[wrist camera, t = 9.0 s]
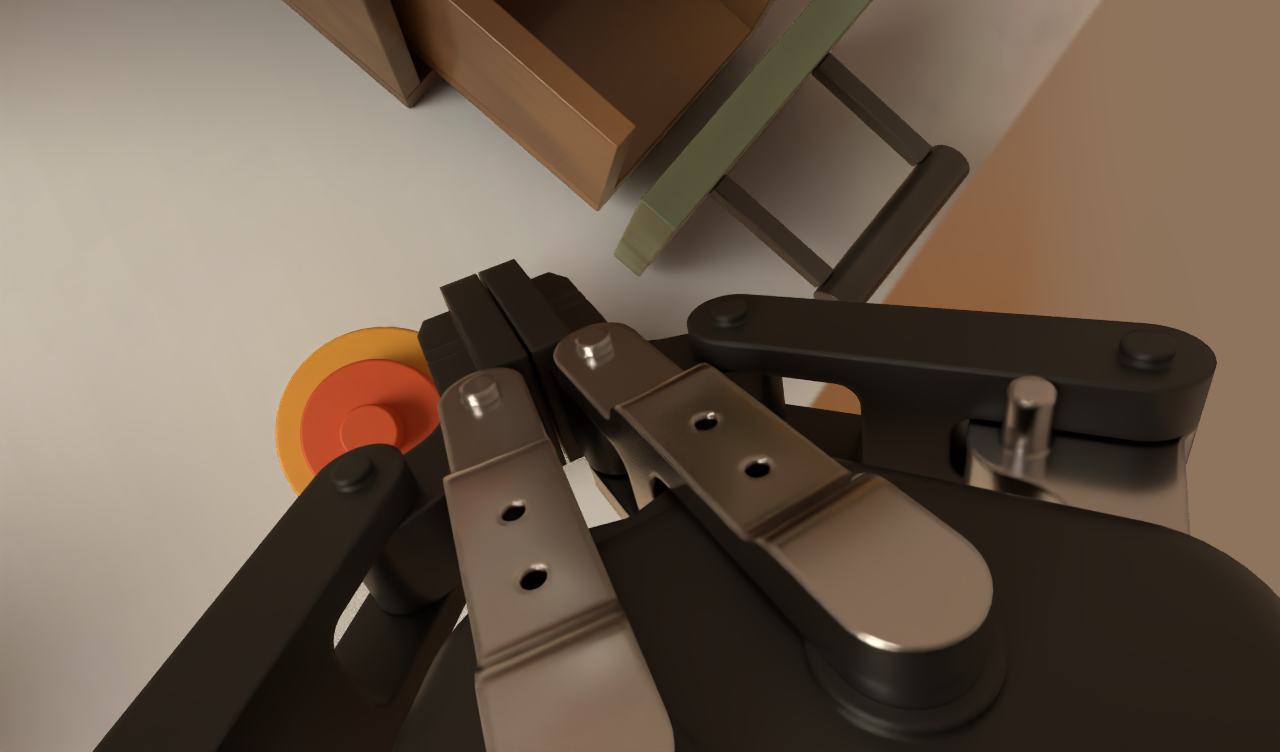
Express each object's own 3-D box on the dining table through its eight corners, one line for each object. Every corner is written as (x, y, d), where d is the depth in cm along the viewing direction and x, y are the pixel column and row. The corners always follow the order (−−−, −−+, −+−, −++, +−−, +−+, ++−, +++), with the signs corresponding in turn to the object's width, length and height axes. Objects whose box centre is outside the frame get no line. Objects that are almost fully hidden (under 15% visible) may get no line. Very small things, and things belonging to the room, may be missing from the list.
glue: (443, 522, 25) (382, 599, 15) (330, 431, 25) (190, 449, 15) (536, 412, 26) (536, 417, 16) (426, 321, 25) (355, 268, 15)
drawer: (933, 168, 27) (1064, 90, 20) (761, 383, 26) (840, 375, 19) (556, -178, 26) (562, -386, 19) (354, 31, 24) (283, -111, 18)
